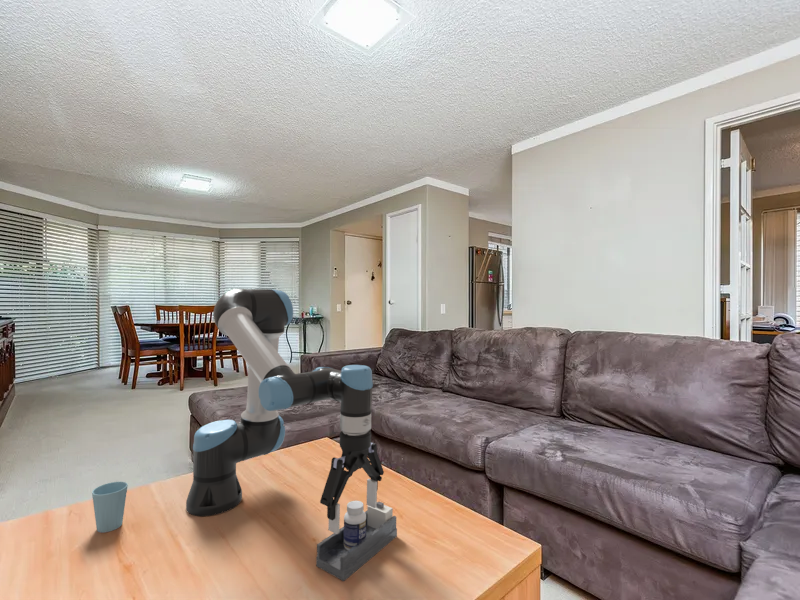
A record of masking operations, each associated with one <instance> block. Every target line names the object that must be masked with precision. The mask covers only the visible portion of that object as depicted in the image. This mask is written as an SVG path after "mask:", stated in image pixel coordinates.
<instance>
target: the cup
mask: <svg viewBox="0 0 800 600" xmlns="http://www.w3.org/2000/svg"><path fill="white" fill-rule="evenodd" d="M128 484H129V483H127V482H126V481H114V482H113V481H112V482H111V481H110V482H109V483H108V482H107V483H104V484H101V485H99V486H97V487H95V488H94V489H93V490H92V491H91V494H92V503H93V512H94V519H95V526H96V527H95V528H96V531H97V532H98V533H110V532H113V531H115V530H117V529H119V528H120V527H121V526H122V525H123V522H124V521H123V520H124V514H125V513H124V512H125V505H126V499H127V493H128V487H129V485H128Z"/></svg>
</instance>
